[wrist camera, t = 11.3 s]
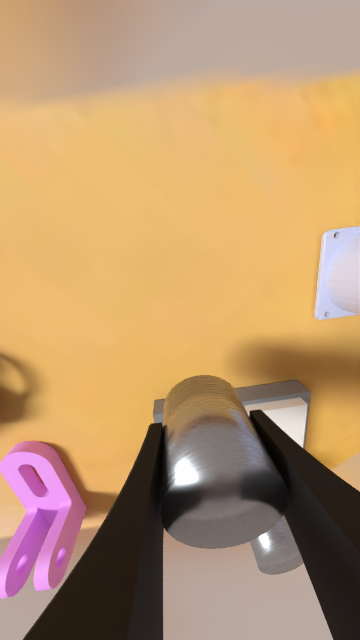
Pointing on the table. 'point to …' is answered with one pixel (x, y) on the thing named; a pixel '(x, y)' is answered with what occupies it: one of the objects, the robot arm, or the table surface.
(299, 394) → the scale
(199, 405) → the cylinder
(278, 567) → the cylinder
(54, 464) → the bracket
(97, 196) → the table surface
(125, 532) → the robot arm
